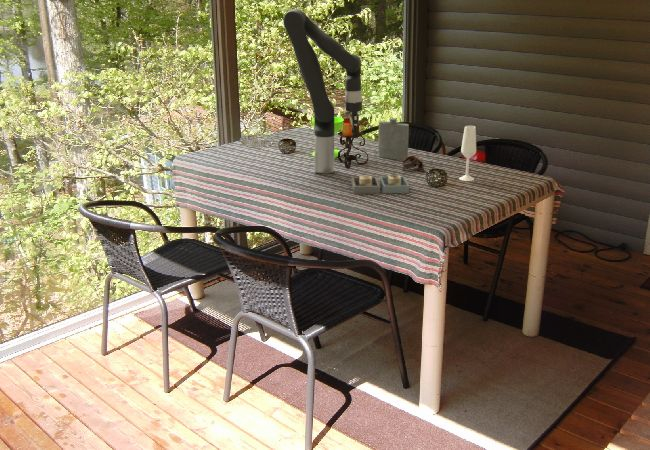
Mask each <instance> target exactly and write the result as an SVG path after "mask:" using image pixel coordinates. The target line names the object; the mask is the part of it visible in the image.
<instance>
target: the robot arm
mask: <svg viewBox="0 0 650 450" xmlns="http://www.w3.org/2000/svg"><path fill="white" fill-rule="evenodd" d="M282 21H283V22H282V23H283V27H284V29H285V30H286V31H285V32H286V33H287V35H288V38H289V40H290V42H291V44H292V47H293V52H294V56H295V59H296V62H297V65H298V68H299V71H300V74H301V76H302V77H301V78H302V80H303V82H304V84H305V87H306V89H307V91H308V93H309V97H310V100H311V103H312V107H313V113H314V121H315V124H314V126H313V128H314V131H313V132H314V133H313V134H314V150H313V152H314V156H313V157H314V158H313V159H314V173H315V172H316V173H319V174H331V173H334V172H335V158H334V149H335V134H334V117H335V105H334V104H333V102H332V101H330V98H329V96H328V94H327V91H326V86H325V81H324V80H325V79H324V75H323V71H322V67H321V63H320V61H319V58H318V56H317V54H316V52H315V50H314V48H313V47H312V45H311V44H310V41H309V39H310V40H311V41H312V42H314V44H315V45H316V46H317V47H318V48H319V49H320V50H321V51H322V52H323V53H325V54H326V55H327V56H328V57H330V58H331V59H333V60H334V61H336V62H337V64H338V65H340V66H341V67H342V68H343V69H344V70H345V72H346V74H345V76H346V77H345V83H344V84H345V85H344V86H345V94H344V96H345V97H344V99H345V100H344V101H345V111H346V112H349V113H350V114H349V123H350V126H351V125H352V126H353V128H352V131H351V134H352V137H353V138H354V139H355V138H356V139H357V138H359V130H360V129H359V128H360V127H359V124H360V121H359V119H360V115H359V113H358V112H362V111H363V94H362V93H363V92H362V80H361V74H362V60H361V58H360V56H358V55H357V54H352V53H350V52H349V51H348V50H346V48H345V47H344V46H343V45H342V44H341V43H339V42H338V41H337V40H336V39H334V38H333V37H332V36H330V35H329V34H328V33H326V32H325V31H323V30H322V29H321V28H320V27H319V26H318V25H317V24H316V23H315V22H314V21H312V19H310V17H308V15H306V13H305V12H304V11H303V10H301V9H299V8H292V9H290V10H288V11H287V12H286V13H285V14H284V15H283V19H282ZM308 38H309V39H308Z"/></svg>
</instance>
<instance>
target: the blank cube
mask: <svg viewBox="0 0 650 450" xmlns="http://www.w3.org/2000/svg"><path fill="white" fill-rule="evenodd" d="M358 177H359V186H372V178H371V177H372V176H371V175H359V176H358Z"/></svg>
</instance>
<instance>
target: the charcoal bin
mask: <svg viewBox="0 0 650 450" xmlns="http://www.w3.org/2000/svg"><path fill="white" fill-rule="evenodd" d="M371 178H372V186H359V176H356V177H355V176H353V177H351V187H352V190H353V195H354V194H356V195H359V194H360V195H361V194H362V195H364V194H365V195H367V194H381V186H380V181H379V180H378V178H377V176H371Z"/></svg>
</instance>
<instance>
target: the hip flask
mask: <svg viewBox="0 0 650 450" xmlns="http://www.w3.org/2000/svg"><path fill="white" fill-rule="evenodd" d="M409 128H410V125H409V124H408V123H400V122H398V119H397V118H396V117H390V118H389V121H384V120H383V121H381V120H380V121H378V143H377V145H378V147H377V149H378V150H377V156H378V157H379V158H385V159H392V160H398V161H403V160H404V159H405V158H407V157H408V156H409V154H408V152H409V132H410V129H409Z"/></svg>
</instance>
